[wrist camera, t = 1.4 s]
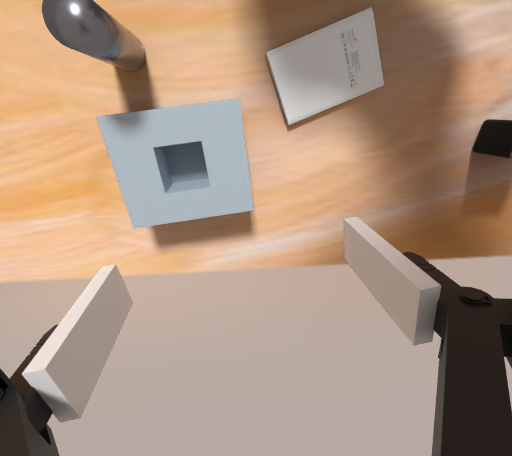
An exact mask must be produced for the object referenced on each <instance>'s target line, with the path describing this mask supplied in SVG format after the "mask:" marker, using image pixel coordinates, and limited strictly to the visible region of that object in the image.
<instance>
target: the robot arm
mask: <svg viewBox="0 0 512 456" xmlns="http://www.w3.org/2000/svg"><path fill="white" fill-rule="evenodd" d="M344 254H345V260H346V262H347V263H348V264H349V265H350V267H351V268H352V269H353V270H354V272H355V273H356V274H357V275H358V277H359V278H360V279H361V280H362V282H363V283H364V284H365V285H366V287H367V288H368V289H369V290H370V292H371V293H372V294H373V295H374V297H375V298H376V299H377V300H378V302H379V303H380V304H381V305H382V307H383V308H384V309H385V310H386V312H387V313H388V314H389V315H390V317H391V318H392V319H393V320H394V322H395V323H396V324H397V325H398V327H399V328H400V329H401V330H402V332H403V333H404V334H405V335H406V337H407V338H408V339H409V340H410V342H411V343H412V344H413V345H418V344H423V343H428V342H432V340H433V333H434V331H435V332H436V333H437V334H438V335H439V336H440V337H441V338H442V339H441V345H440V350H439V356H438V358H439V370H438V383H437V395H436V408H435V421H434V433H433V434H434V435H433V446H432V456H512V411H511V404H510V397H509V389H508V382H507V376H506V368H505V361H504V357H507V360H508V362H509V363H510V366H511V368H512V299H497V298H496V299H495V298H493V297H492V296H490V295H489V294H488V293H486V292H484V291H482V290H479V289H475V288H472V287H461V286H459V285H458V284H457V283H455V282H454V281H453V280H451V279H450V278H449V277H447V276H446V275H445V274H443V273H442V272H441V271H440V270H438V269H436V267H434V266H433V265H432V264H429V262H428V261H426V260H425V259H424V258H422V257H421V256H419V255H416V254H414V253H411V252H406V253H401V252H399V251H398V250H397V249H396V248H394V247H393V246H392V245H391V244H390V243H388V242H387V241H386V240H385V239H383V238H382V237H381V236H380V235H379V234H377V233H376V232H375V231H374V230H373V229H371V228H370V227H369V226H368V225H366V224H365V223H364V222H363V221H362V220H360V219H359V218H358V217H357V216H356V217H351V218H346V219H344ZM132 304H133V301H132V299H131V297H130V294H129V292H128V290H127V288H126V286H125V283H124V281H123V279H122V277H121V275H120V272H119V270H118V268H117V266H116V264H114V265H109V266H104V267H102V268H101V269H100V270H99V272H98V273H97V274H96V276H95V277H94V278H93V280H92V281H91V282H90V284H89V285H88V286H87V288H86V289H85V290H84V292H83V293H82V294H81V296H80V297H79V298H78V300H77V301H76V302H75V304H74V305H73V306H72V308H71V309H70V310H69V312H68V313H67V314H66V316H65V317H64V318H63V320H62V321H61V322H60V324H58V325H55V326H54V327H53V328H51V329H50V330H49V331H48V332H47V333H45V334H44V335H43V337H42V338H41V339H40V341H39V342H38V343H37V344H36V347H34V348H33V350H32V351H31V352H30V355H28V356H27V357H26V359H25V360H24V361H23V362H22V364H21V365H20V366H19V368H18V369H17V370H16V371H15V373H14V374H13V375H12V377H11V378H10V379H9V378H8V377H7V376H6V375H5V374H4V372H3V371H2V370H1V369H0V456H59V453H58V450H57V446H56V443H55V440H54V437H53V434H52V431H51V428H50V427H49V426H48V425H47V422H48V420H49V418H50V417H51V415H52V413H53V414H54V415H55V417H56V418H57V419H58V420H59V421H60V422H64V421H69V420H74V419H78V418H81V416H82V414H83V412H84V409H85V407H86V405H87V403H88V401H89V398H90V396H91V394H92V392H93V389H94V387H95V385H96V383H97V381H98V379H99V376H100V374H101V372H102V370H103V368H104V365H105V363H106V361H107V359H108V356H109V354H110V352H111V350H112V348H113V346H114V344H115V341H116V339H117V337H118V335H119V333H120V330H121V328H122V326H123V324H124V322H125V319H126V317H127V314H128V313H129V311H130V308H131V306H132Z"/></svg>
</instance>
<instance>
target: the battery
mask: <svg viewBox="0 0 512 456" xmlns="http://www.w3.org/2000/svg"><path fill="white" fill-rule="evenodd" d="M473 151H474V152H477V153H483V154H489V155H494V156H500V157H506V158H512V120H486V121H485V122H484V124H483V126H482V129H481V131H480V133H479V136H478V138H477V141H476V143H475V146H474V148H473Z"/></svg>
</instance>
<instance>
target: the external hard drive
mask: <svg viewBox="0 0 512 456" xmlns="http://www.w3.org/2000/svg"><path fill="white" fill-rule="evenodd" d="M265 56H266V59H267V62H268V65H269V68H270V71H271V75H272V78H273V81H274V84H275V88H276V91H277V94H278V97H279V100H280V104H281V107H282V110H283V113H284V116H285V120H286V123H287V125H291V124H293V123H295V122H298V121H300V120H303V119H305V118H307V117H310V116H312V115H315V114H317V113H319V112H322V111H324V110H326V109H329V108H331V107H334V106H336V105H338V104H341V103H343V102H345V101H348V100H350V99H353V98H355V97H357V96H360V95H362V94H364V93H367V92H369V91H372V90H374V89H376V88H379V87H381V86H383V85H384V80H383V73H382V67H381V60H380V54H379V47H378V40H377V34H376V27H375V20H374V13H373V10H372V7H370V8H368V9H366V10H363V11H361V12H359V13H356V14H354V15H352V16H349V17H347V18H345V19H342V20H340V21H338V22H335V23H333V24H331V25H328V26H326V27H324V28H322V29H319V30H317V31H315V32H312V33H310V34H308V35H305V36H303V37H301V38H298V39H296V40H294V41H291V42H289V43H287V44H285V45H282V46H280V47H278V48H275V49H273V50H271V51H269V52H267V53H266V54H265Z"/></svg>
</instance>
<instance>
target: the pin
mask: <svg viewBox="0 0 512 456" xmlns="http://www.w3.org/2000/svg"><path fill="white" fill-rule="evenodd" d="M42 13H43V18H44V21H45V24H46V26H47V28H48V30H49V31H50V33H51V34H52V35H53V36H54V38H55V39H56V40H58V41H59V42H60V43H61V44H63V45H65V46H66V47H69V48H71V49H74V50H76V51H79V52H81V53H84V54H86V55H89V56H91V57H94V58H96V59H99V60H101V61H104V62H106V63H109V64H111V65H114V66H116V67H119V68H121V69H124V70H127V71H135V70H138V69H139V68H140V67H141V66H142V65H143V63H144V60H145V50H144V47H143V45H142V43H141V41H140V40H139V39H138V38H137V37H136V36H135V35H134V34H132V33H131V32H130V31H129V30H128V29H126V28H125V27H124V26H123V25H122V24H120V23H119V22H118V21H117V20H116V19H114V18H113V17H112V16H111V15H110V14H109V13H107V12H106V11H105V10H104V9H103V8H101V7H100V6H99V5H98V4H97V3H95V2H94V1H93V0H43V3H42Z"/></svg>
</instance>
